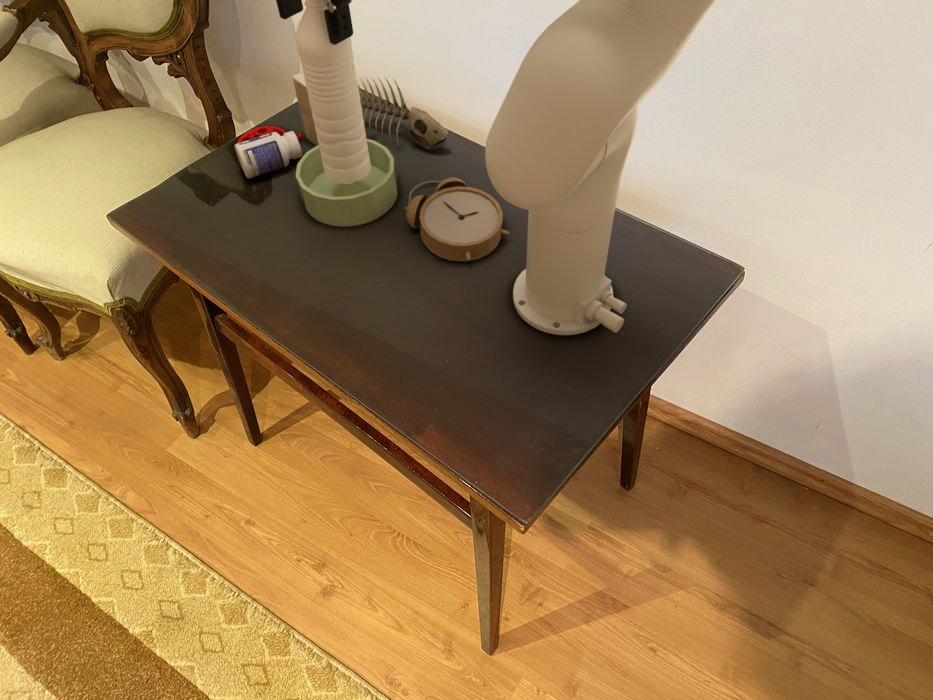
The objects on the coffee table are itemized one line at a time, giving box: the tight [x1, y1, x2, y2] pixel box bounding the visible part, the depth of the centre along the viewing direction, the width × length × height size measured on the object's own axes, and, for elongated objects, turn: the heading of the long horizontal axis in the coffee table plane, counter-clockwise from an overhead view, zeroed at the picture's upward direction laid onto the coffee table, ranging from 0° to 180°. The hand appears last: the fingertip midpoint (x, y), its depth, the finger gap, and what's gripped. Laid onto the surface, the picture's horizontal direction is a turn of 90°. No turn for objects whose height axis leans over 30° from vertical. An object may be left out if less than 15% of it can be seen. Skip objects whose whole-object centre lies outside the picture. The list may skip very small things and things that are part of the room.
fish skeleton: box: [358, 76, 449, 150], centre depth 114 cm, size 6×28×10 cm, turn 59°
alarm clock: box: [404, 177, 510, 263], centre depth 101 cm, size 11×5×15 cm
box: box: [291, 70, 319, 147], centre depth 112 cm, size 5×4×11 cm
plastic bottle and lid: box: [295, 0, 371, 184], centre depth 94 cm, size 9×6×25 cm
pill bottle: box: [234, 130, 303, 179], centre depth 110 cm, size 5×5×9 cm
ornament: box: [237, 125, 303, 143], centre depth 116 cm, size 8×1×10 cm
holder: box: [295, 138, 399, 228], centre depth 106 cm, size 14×14×5 cm
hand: (316, 26), depth 88 cm, fingers closed on plastic bottle and lid, 8 cm apart
